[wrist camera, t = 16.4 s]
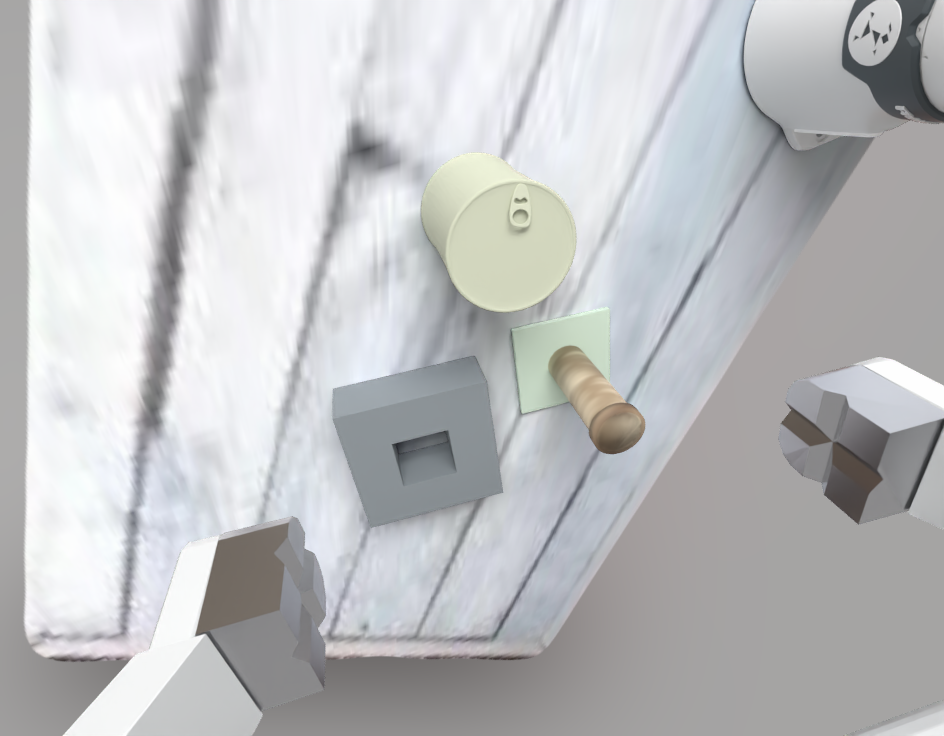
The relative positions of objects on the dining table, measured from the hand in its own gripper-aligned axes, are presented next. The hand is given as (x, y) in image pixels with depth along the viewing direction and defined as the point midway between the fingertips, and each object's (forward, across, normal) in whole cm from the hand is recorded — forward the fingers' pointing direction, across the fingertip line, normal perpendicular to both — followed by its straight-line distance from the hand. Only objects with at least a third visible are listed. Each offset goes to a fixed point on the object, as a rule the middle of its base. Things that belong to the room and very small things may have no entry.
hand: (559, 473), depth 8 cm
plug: (+38, -14, +23) cm, 46 cm away
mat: (+38, -14, +23) cm, 47 cm away
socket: (+38, +2, +27) cm, 47 cm away
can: (+38, -7, +6) cm, 40 cm away
